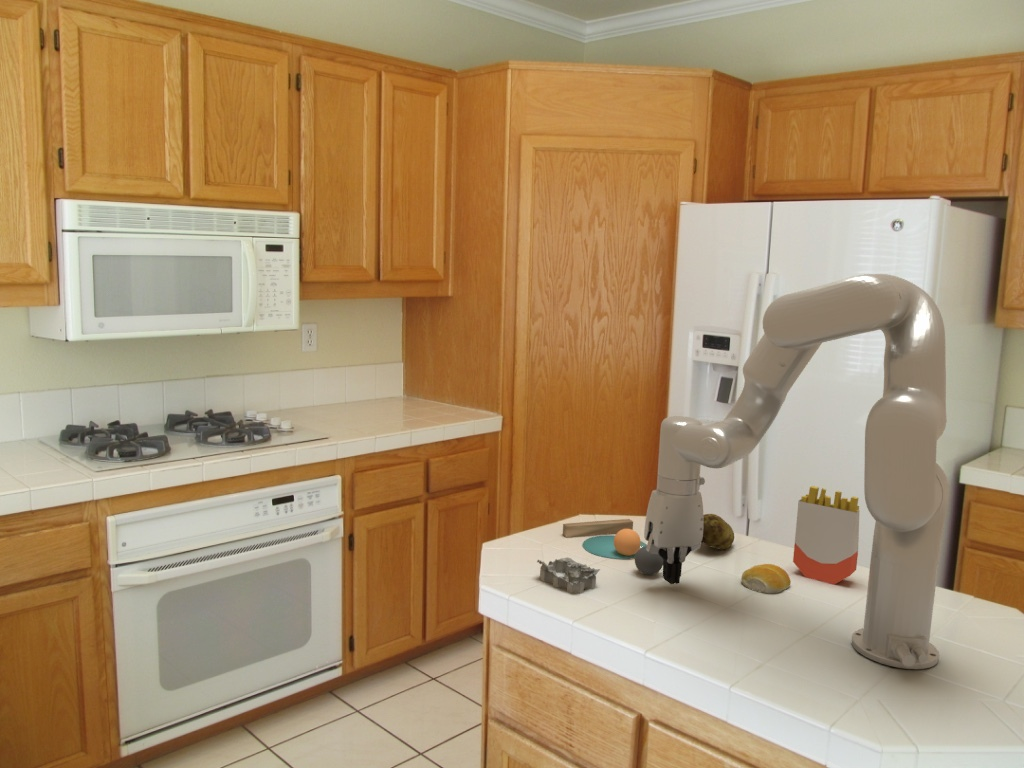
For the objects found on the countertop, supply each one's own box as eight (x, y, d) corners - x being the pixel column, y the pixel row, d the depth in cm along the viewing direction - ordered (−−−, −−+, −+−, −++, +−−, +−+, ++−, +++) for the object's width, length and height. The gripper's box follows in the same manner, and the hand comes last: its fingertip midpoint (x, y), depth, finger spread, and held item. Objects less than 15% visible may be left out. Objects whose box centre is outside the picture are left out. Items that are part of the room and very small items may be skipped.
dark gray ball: (643, 545, 167) (648, 574, 166) (626, 549, 163) (631, 578, 162) (666, 542, 163) (671, 571, 162) (649, 546, 159) (655, 575, 158)
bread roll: (796, 586, 160) (798, 565, 160) (774, 598, 154) (776, 577, 153) (756, 573, 166) (757, 554, 165) (733, 585, 159) (735, 565, 159)
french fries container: (799, 567, 169) (807, 480, 167) (855, 581, 163) (864, 491, 160) (791, 573, 166) (799, 485, 163) (848, 588, 159) (858, 496, 157)
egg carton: (533, 579, 159) (534, 559, 158) (561, 571, 164) (562, 551, 163) (573, 597, 151) (574, 576, 150) (602, 588, 156) (603, 567, 155)
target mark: (651, 561, 170) (651, 560, 170) (581, 556, 171) (582, 555, 171) (647, 538, 183) (647, 537, 183) (583, 534, 185) (583, 533, 185)
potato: (749, 548, 180) (752, 512, 179) (712, 560, 172) (715, 522, 170) (717, 537, 186) (720, 502, 185) (680, 548, 178) (683, 512, 177)
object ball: (638, 524, 170) (625, 523, 176) (616, 537, 169) (604, 536, 174) (649, 548, 171) (637, 546, 176) (628, 561, 169) (616, 559, 174)
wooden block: (632, 532, 187) (633, 521, 187) (566, 537, 182) (566, 526, 182) (628, 529, 189) (629, 518, 189) (562, 534, 184) (563, 523, 184)
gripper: (702, 477, 159) (695, 570, 161) (631, 481, 154) (625, 577, 156) (725, 488, 152) (717, 585, 154) (651, 493, 147) (644, 593, 149)
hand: (671, 581), depth 155 cm, fingers closed
